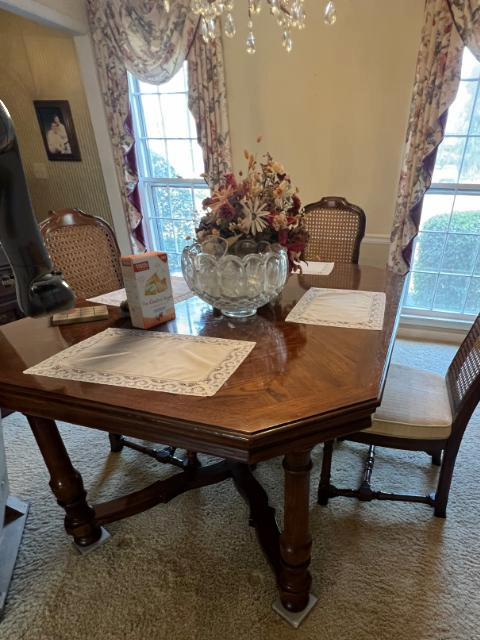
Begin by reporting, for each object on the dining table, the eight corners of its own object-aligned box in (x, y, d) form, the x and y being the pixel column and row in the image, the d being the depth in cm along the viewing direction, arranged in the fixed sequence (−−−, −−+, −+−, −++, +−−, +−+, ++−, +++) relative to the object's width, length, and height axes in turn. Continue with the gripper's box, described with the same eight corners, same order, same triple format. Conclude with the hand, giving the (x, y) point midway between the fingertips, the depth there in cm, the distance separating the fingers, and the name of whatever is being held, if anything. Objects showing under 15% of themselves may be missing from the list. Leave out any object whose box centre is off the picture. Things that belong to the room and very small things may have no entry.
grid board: (54, 325, 119) (52, 320, 119) (55, 315, 129) (54, 310, 128) (109, 318, 126) (108, 313, 125) (106, 309, 135) (105, 304, 134)
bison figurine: (116, 318, 125) (109, 288, 121) (129, 312, 131) (123, 283, 126) (148, 322, 123) (142, 290, 118) (160, 315, 129) (155, 285, 124)
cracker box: (146, 330, 116) (132, 258, 106) (132, 327, 118) (116, 256, 108) (177, 317, 127) (167, 251, 117) (164, 315, 129) (152, 250, 119)
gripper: (65, 265, 95) (55, 256, 106) (-4, 272, 87) (-8, 261, 99) (74, 295, 98) (63, 283, 110) (8, 304, 91) (3, 290, 103)
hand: (30, 273), depth 104 cm, fingers closed on black piece, 5 cm apart
